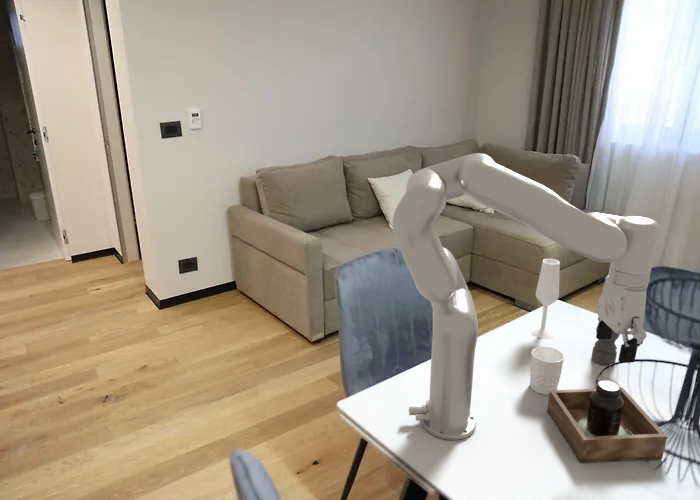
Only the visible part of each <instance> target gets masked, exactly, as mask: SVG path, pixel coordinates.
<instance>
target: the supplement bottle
mask: <svg viewBox="0 0 700 500" xmlns="http://www.w3.org/2000/svg"><path fill="white" fill-rule="evenodd" d="M621 388H622V387H621V385H620V384H619V383H618V382H616V381H615V380H610V379H601V380H599V381H597V385H596V388H595V389H596V390H595V391H594V392H593V393H592V394H591V396H590V403H589V410H588V417H587V425H586V426H587V429H588V431H589V432H590V433H591V434H593V435H594V436H617V435H618V434H619V429H620V423H621V417H622V411H623V405H624V402H623V399H622V397H621V396H620V391H621Z"/></svg>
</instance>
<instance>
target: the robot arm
mask: <svg viewBox="0 0 700 500" xmlns="http://www.w3.org/2000/svg"><path fill="white" fill-rule="evenodd" d="M463 196H466V197H468V198H469V199H470V200H473V201H474V202H476V203H478V204H481V205H482V206H484V207H486V208H488V209H492V210H493V211H495V212H498V213H500V214H502V215H504V216H507V217H508V218H510V219H513V220H515V221H517V222H518V223H521V224H523V225H525V226H526V227H528V228H529V229H531V230H532V231H535V232H537V233H538V234H541V235H542V236H544V237H546V238H547V239H550V240H551V241H553V242H556V243H557V244H559V245H561V246H562V247H564V248H566V249H567V250H570V251H571V252H572V251H573V252H574V253H576V254H578V255H581V256H583V257H585V258H587V259H589V260H592V261H595V262H598V263H603V264H605V263H610V264H609V270H608V275H607V276H608V277H607V276H606V277H607V279H606V281H605V280H604V283H605V284H604V283H603V286H602V290H601V295H600V297H599V298H598V307H597V316H598V317H597V321H598V324H597V326H598V329H597V333H596V335H595V338H596V339H597V340H599V339H611V335H612V330H613V331H614V332H615V333H617V334H620V335H621V336H622V342H623V343H622V344H621V345H620V349H619V350H620V351H619V355H618V360H617V361H619V363H620V364H621V363H634V362H635V361H636V356H637V351H638V347H640V346H641V345H643V343H644V341H645V339H646V338H647V332H646V330H645V328H644V326H643V325H644V320H645V314H646V304H647V289H648V287H649V282H650V277H651V274H652V273H651V271H652V268H653V261H654V257H655V254H656V249H657V243H658V239H659V233H660V225H659V223H658V222H657V221H656V220H654V219H652V218H649V217H645V216H639V215H638V216H637V215H630V216H629V215H628V216H619V215H614V214H609V213H608V214H607V213H601V212H598V211H597V212H587V213H586V212H584V211H582V210H580V209H579V208H577V207H575V206H574V205H573V204H570V203H569V202H568V201H566V200H565V199H563V198H562V197H561V196H559V194H557V192H555V191H553V190H552V189H550V188H548V187H547V186H545V185H544V184H542V183H539V182H538V181H535V180H532V179H531V178H529V177H526V176H524V175H521V174H519V173H517V172H515V171H513V170H511V169H509V168H506V167H505V166H503V165H501V164H498V163H496V162H495V160H494V158H492V157H491V156H489V155H488V154H486V153H481V152H475V153H471V154H467V155H463V156H460V157H456V158H454V159H453V158H452V159H450V160H447V161H445V162H444V161H443V162H440V163H437V164H434V165H430V166H427V167H423V168H421V169H419V170H417V171H415V172H414V173H413V174H411V176H410V177H409V179H408V181H407V183H406V187H405V193H404V195H403V196H402V197H401V199H400V201H399V202H398V203H397V205H396V208H395V210H394V213H393V217H392V231H393V235H394V236H393V237H394V238H395V240H396V243H397V246H398V248H399V250H400V252H401V255H402V257H403V259H404V262H405V264H406V266H407V268H408V270H409V273H410V275H411V277H412V280H413V281H414V284H415V287H416V289H417V290H418V292H419V293H420V294H421V296H422V297H423V298H425V300H428V301H429V302H430V304H431V307H432V341H431V356H430V357H431V359H430V376H429V377H430V380H429V382H430V383H429V398H428V399H429V400H426V401H425V404H422V405H421V406H409V407H408V415H409V416H415V421H421V425H422V426H423V428H424V429H425V430H426V431H427V432H428V433H430V434H431V435H432V436H434V437H437V438H440V439H444V440H450V441H451V440H452V441H454V440H455V441H457V440H462V439H465V438H468V437H469V436H471V435H472V434H473V433H474V431H475V430H476V428H477V427H476V426H477V421H476V418H475V415H474V414H473V413H472V412H471V404H472V390H473V378H474V366H475V365H474V364H475V354H476V348H477V347H476V345H477V341H478V336H479V335H478V334H479V323H478V316H477V312H476V308H475V303H474V299H473V296H472V294H471V291H470V290H469V287H468V285H467V282H466V280H465V278H464V276H463V274H462V272H461V270H460V267H459V264H458V261H457V260H456V258H455V256H454V255H453V254H452V252H451V251H450V250H449V249H447V248H446V247H444V246H443V245H442V242H441V239H440V237H439V235H438V232H437V231H436V228H435V224H436V219H438V217H439V216H440V214H442V212H443V211H444V209H445V207H446V204H447V201H450V200H453V199H456V198H460V197H463ZM630 335H632V338H630V339H629V336H630Z"/></svg>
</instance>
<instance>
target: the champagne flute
mask: <svg viewBox="0 0 700 500" xmlns="http://www.w3.org/2000/svg"><path fill="white" fill-rule="evenodd" d="M560 265H561V263H560V261H559V260H558V259H555V258H544V259H543V260H542V264H541V267H540V271H539V276H538V280H537V286H536V290H535V297H536V299H537V301H538V302H540V303H541V304H542V305H543V309H542V315H541V316H542V317H541V325H540V327H536V328H532V330H531V331H530V333H531V334H532V335H533V336H534V337H536V338H540V339H551V338H553V337H554V332H552V331H551V330H550V329H548V328H546V324H547V321H546V320H547V316H548V314H547V313H548V306H551V305H552V304H554V303H556V301H558V299H559V296H560V293H559V292H560V267H561V266H560Z"/></svg>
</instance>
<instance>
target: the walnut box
mask: <svg viewBox="0 0 700 500" xmlns="http://www.w3.org/2000/svg"><path fill="white" fill-rule="evenodd" d="M595 390H596V388H582V389H557V390H550V393H549V395H548V401H547V408H546V412H547V414H548V415H549V417H550V418H551V420H552V422H553V423H554V424H555V427H556V428H557V429H558V431H559V433H560V434H561V436H562V437H563V439H564V441H565V442H566V443H567V445H568V447H569V448H570V450H571V451H572V453H573V455H574V456H575V458H576V459H577V461H578V462H579V464H585V463H586V464H592V463H616V462H618V463H619V462H637V461H638V462H639V461H662V459H663V455H664V452H665V447H666V444H667V439H668V436H667V435H666V434H665V432H663V430H662V429H661V428H660V427H659V426H658V424H656V422H655V421H654V420H653V419H652V418H651V417H650V416H649V415H648V414H647V413H646V411H644V410H643V408H642V407H641V406H640V405H639V404H638V403H637V402H636V401H635V400H634V399H633V397H632V396H631V395H630V394H629V393H628V392H627V390H625V388H624V387H621V391H620V396H621V397H622V399H623V402H624V405H623V411H622V417H621V423H620V429H619V434H618V435H617V436H594V435H593V434H591V433H590V432H589V431H588V429H587V426H586V425H587V417H588V410H589V403H590V396H591V394H592V393H593V392H594V391H595ZM624 427H625V428H627V429H628V430H629V431H631V432H632V433H633V434H635V435H632V434H630V433H629V432H628V431H627V430H626V429H625V428H624Z"/></svg>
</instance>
